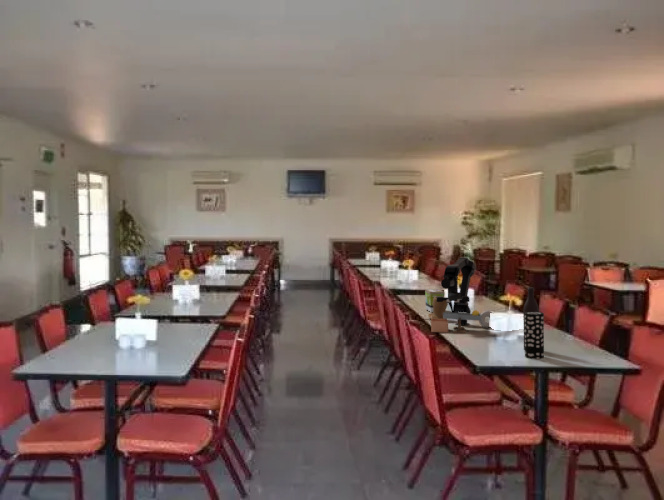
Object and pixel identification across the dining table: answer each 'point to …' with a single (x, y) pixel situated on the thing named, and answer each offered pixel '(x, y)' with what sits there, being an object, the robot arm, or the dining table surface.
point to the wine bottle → (530, 306)
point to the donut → (482, 322)
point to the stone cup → (438, 309)
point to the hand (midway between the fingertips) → (453, 313)
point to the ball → (475, 313)
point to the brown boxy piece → (439, 325)
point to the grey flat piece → (461, 316)
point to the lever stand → (459, 327)
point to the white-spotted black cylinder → (534, 335)
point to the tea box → (430, 295)
